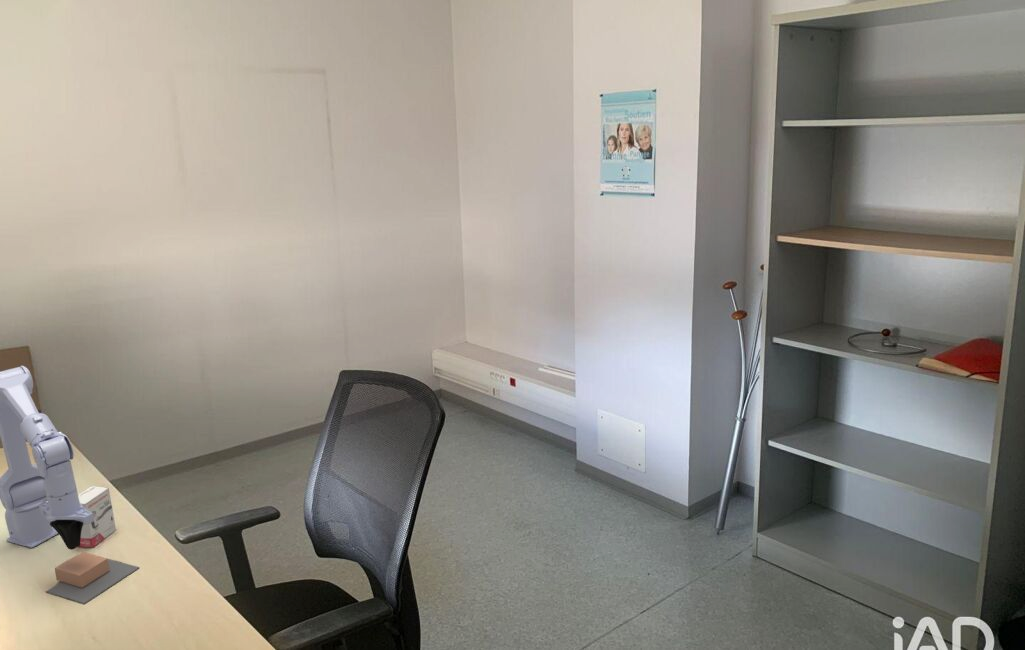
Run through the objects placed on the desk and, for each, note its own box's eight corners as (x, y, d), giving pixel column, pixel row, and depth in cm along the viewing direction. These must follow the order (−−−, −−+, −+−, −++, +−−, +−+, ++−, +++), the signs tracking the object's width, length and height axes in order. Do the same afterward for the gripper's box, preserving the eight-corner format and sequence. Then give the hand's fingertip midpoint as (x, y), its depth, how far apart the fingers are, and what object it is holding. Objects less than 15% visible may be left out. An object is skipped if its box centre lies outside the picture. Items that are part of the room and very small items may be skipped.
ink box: (93, 548, 186) (84, 503, 182) (75, 547, 187) (65, 502, 183) (118, 529, 194) (109, 485, 191) (100, 528, 195) (91, 484, 192)
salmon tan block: (54, 568, 172) (79, 575, 169) (82, 551, 178) (107, 558, 175) (57, 581, 173) (82, 588, 169) (85, 564, 179) (110, 571, 176)
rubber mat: (45, 592, 169) (45, 591, 169) (102, 558, 181) (101, 557, 181) (84, 604, 164) (84, 603, 164) (139, 568, 177) (139, 567, 176)
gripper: (21, 494, 168) (34, 550, 172) (67, 505, 162) (80, 563, 166) (51, 479, 174) (64, 534, 178) (97, 489, 169) (109, 545, 172)
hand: (74, 547), depth 173 cm, fingers closed
